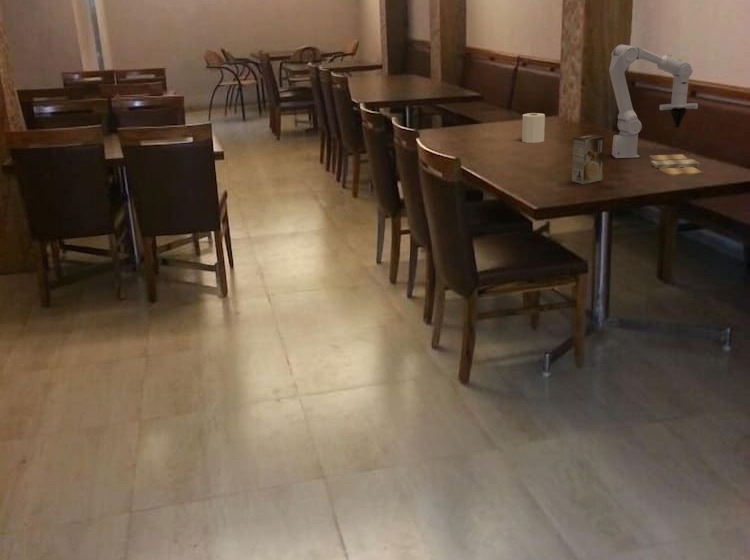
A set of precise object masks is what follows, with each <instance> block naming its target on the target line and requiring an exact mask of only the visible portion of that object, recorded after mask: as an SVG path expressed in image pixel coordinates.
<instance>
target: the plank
mask: <svg viewBox="0 0 750 560" xmlns="http://www.w3.org/2000/svg"><path fill="white" fill-rule="evenodd" d="M658 171H659V172H660V171H661V173H663V174H664V175H665V176H668V177H673V176H674V177H676V176H689V175H704V173H705V172H704V171H702V170H700V169H698V168H697V167H684V168H659V169H658Z"/></svg>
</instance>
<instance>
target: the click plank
mask: <svg viewBox="0 0 750 560" xmlns="http://www.w3.org/2000/svg"><path fill="white" fill-rule="evenodd" d="M648 159H649V161H651V160H666V159H689V157H687V156H685V155H684V154H682V153H681V154H680V153H679V154H658V155H657V154H655V155H654V154H653V155H648Z"/></svg>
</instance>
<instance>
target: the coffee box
mask: <svg viewBox="0 0 750 560" xmlns="http://www.w3.org/2000/svg"><path fill="white" fill-rule="evenodd" d="M572 140H573V142H572V166H571V167H572V169H571V170H572V172H571V182H574V183H577V184H581V185H586V184H590V183H596V182H601V181H603V173H604V172H603V170H604V169H603V168H604V150H605V147H604V146H605V136H602V135H596V134H587V135H582V136H575V137H573V138H572Z"/></svg>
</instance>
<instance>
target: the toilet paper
mask: <svg viewBox="0 0 750 560" xmlns="http://www.w3.org/2000/svg"><path fill="white" fill-rule="evenodd" d="M545 121H546V115H545V113H539V112H537V113H536V112H529V113H528V112H527V113H524V114H522V127H521V132H522V134H521V142H523V143H527V144H529V143H530V144H536V143H540V144H541V143H543V142H545V129H546V128H545V124H546V122H545Z"/></svg>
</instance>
